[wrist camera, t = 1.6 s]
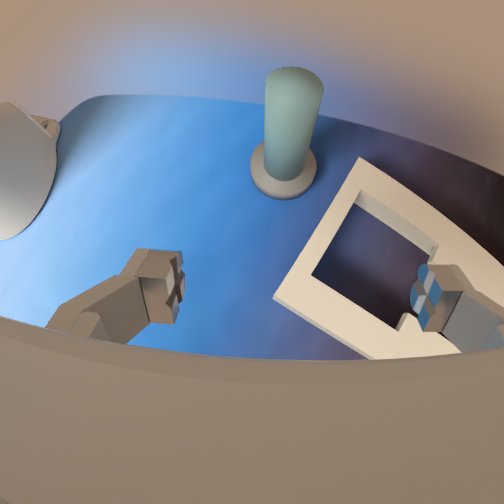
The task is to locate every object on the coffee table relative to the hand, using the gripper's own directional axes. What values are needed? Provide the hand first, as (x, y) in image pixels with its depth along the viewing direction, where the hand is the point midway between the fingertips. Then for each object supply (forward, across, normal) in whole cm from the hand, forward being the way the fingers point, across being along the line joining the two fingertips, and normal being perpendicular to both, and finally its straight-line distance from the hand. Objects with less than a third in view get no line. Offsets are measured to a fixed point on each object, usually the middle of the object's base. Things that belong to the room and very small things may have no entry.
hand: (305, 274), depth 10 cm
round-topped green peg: (+20, 0, +3) cm, 21 cm away
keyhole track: (+12, -13, +11) cm, 21 cm away
